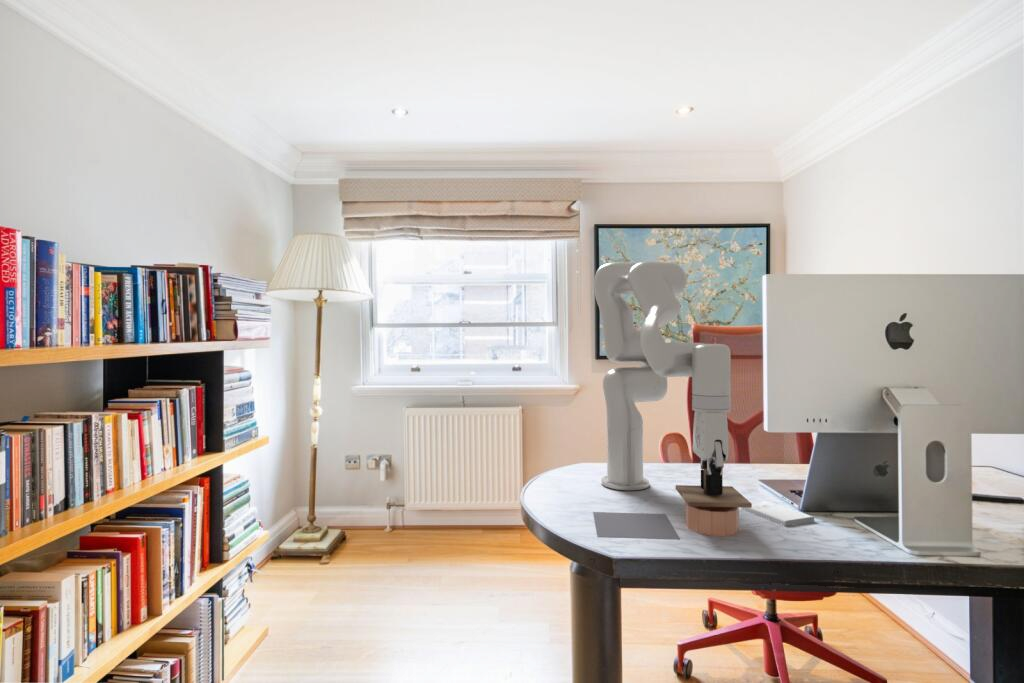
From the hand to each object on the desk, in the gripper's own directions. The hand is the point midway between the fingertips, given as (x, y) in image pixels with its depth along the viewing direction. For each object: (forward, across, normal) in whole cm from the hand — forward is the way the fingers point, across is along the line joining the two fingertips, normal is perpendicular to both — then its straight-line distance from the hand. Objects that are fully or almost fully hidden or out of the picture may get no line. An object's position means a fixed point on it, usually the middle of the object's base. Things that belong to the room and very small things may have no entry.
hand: (711, 490), depth 110 cm
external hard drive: (+8, -10, +17) cm, 21 cm away
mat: (+8, 0, -16) cm, 18 cm away
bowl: (+8, 0, 0) cm, 8 cm away
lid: (+1, 0, 0) cm, 1 cm away
